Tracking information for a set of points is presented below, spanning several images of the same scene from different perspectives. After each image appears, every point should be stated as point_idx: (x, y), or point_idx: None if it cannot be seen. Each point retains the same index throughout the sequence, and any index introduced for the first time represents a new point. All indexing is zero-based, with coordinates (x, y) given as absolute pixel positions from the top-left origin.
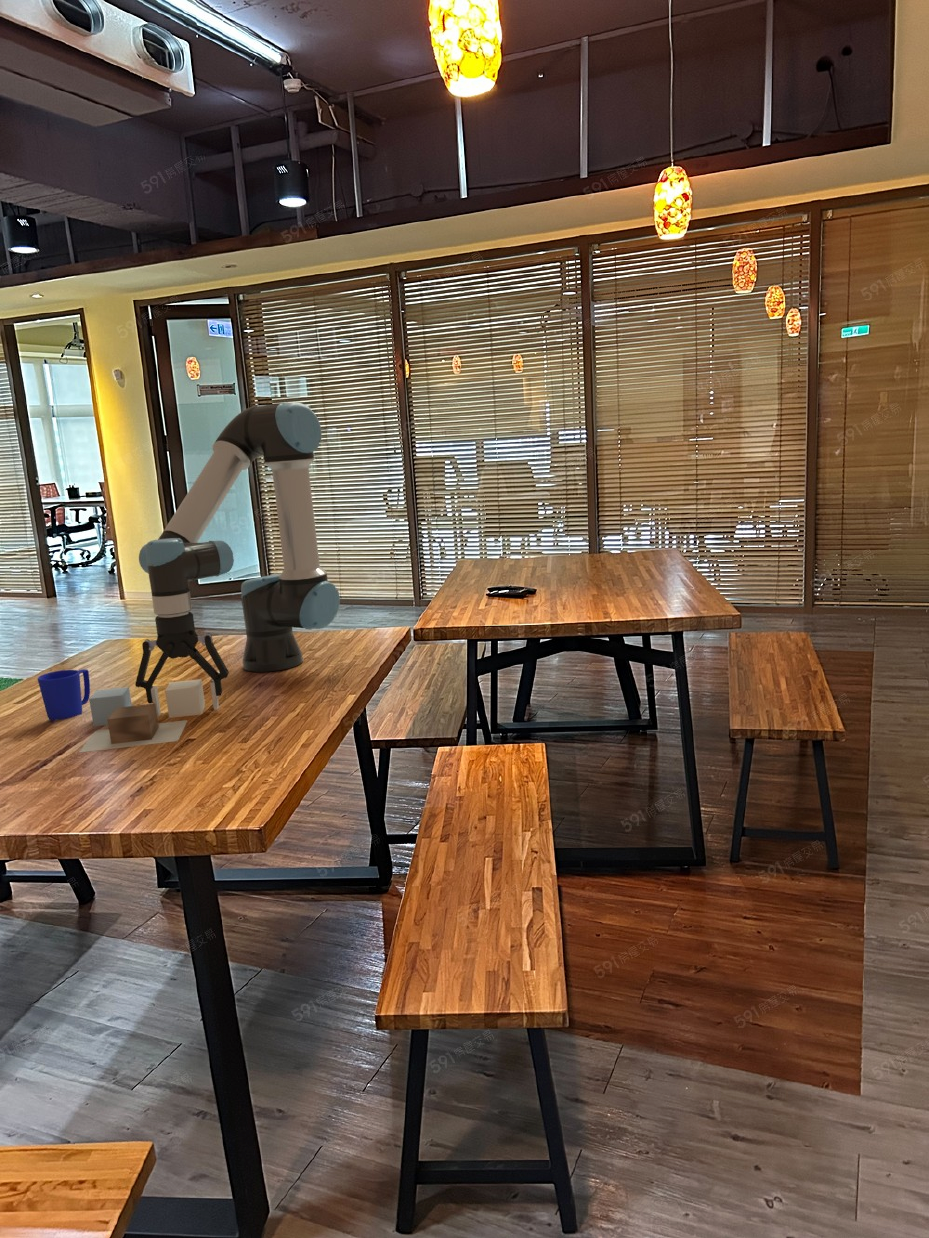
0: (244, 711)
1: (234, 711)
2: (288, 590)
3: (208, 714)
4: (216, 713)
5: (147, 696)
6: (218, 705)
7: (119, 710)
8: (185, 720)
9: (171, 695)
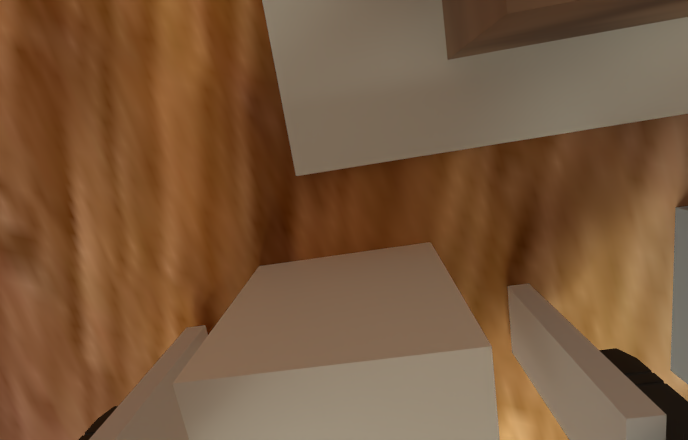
0: (64, 337)
1: (120, 349)
2: None
3: None
4: None
5: (659, 383)
6: None
7: None
8: (308, 172)
9: (423, 321)
